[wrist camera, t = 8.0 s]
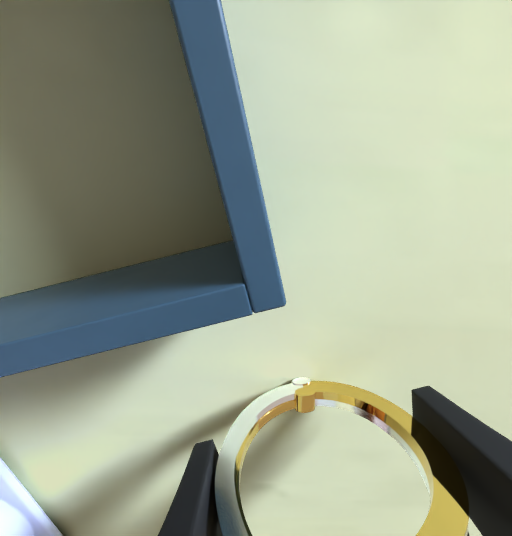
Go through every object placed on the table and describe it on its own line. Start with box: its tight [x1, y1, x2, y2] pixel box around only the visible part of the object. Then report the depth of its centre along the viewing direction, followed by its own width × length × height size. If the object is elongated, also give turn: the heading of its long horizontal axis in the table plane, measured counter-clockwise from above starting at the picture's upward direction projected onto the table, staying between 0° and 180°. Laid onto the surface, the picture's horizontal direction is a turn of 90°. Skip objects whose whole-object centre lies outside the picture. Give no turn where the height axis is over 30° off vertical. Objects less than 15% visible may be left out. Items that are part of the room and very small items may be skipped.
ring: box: [215, 377, 469, 536], centre depth 9 cm, size 7×3×8 cm, turn 93°
